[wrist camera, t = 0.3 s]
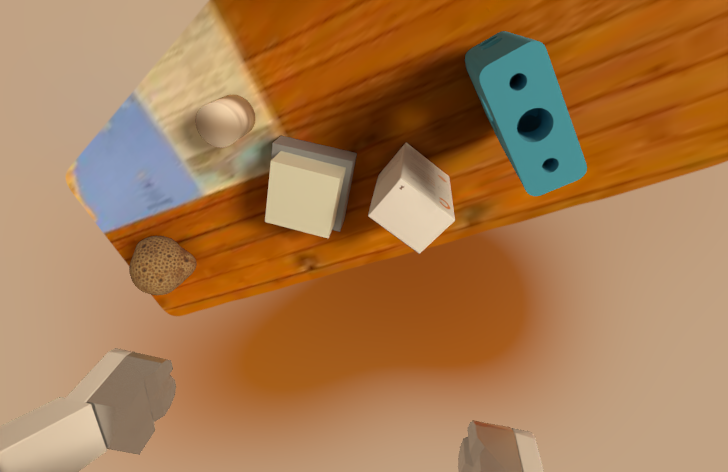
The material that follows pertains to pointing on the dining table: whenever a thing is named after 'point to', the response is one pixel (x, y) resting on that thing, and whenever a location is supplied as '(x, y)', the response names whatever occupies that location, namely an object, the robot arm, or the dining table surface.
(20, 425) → the robot arm
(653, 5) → the dining table surface
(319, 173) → the tower top
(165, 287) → the natural sponge
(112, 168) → the dining table surface
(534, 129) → the block
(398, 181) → the small box
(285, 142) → the tower base
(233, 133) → the beige rounded cylinder
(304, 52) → the dining table surface
